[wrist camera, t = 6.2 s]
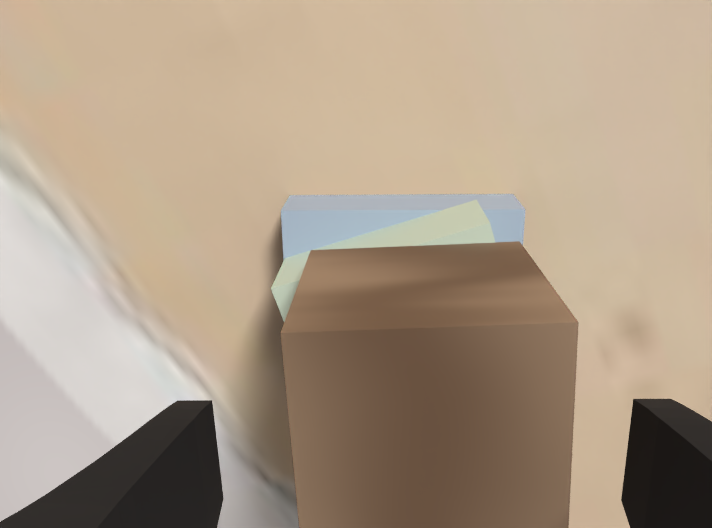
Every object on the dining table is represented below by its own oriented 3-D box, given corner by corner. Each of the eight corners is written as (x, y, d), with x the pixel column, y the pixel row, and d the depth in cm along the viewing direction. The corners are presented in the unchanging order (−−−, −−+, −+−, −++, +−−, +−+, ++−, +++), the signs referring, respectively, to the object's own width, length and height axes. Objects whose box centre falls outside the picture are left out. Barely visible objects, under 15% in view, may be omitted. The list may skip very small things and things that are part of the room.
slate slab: (509, 189, 18) (525, 209, 16) (497, 382, 20) (510, 422, 18) (292, 190, 19) (281, 210, 16) (301, 380, 21) (292, 420, 18)
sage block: (476, 199, 16) (490, 222, 14) (525, 375, 18) (544, 419, 16) (284, 258, 17) (270, 288, 15) (347, 422, 18) (342, 471, 16)
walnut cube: (519, 241, 14) (578, 322, 10) (515, 425, 16) (565, 567, 11) (310, 250, 14) (280, 333, 10) (324, 431, 16) (303, 571, 12)
